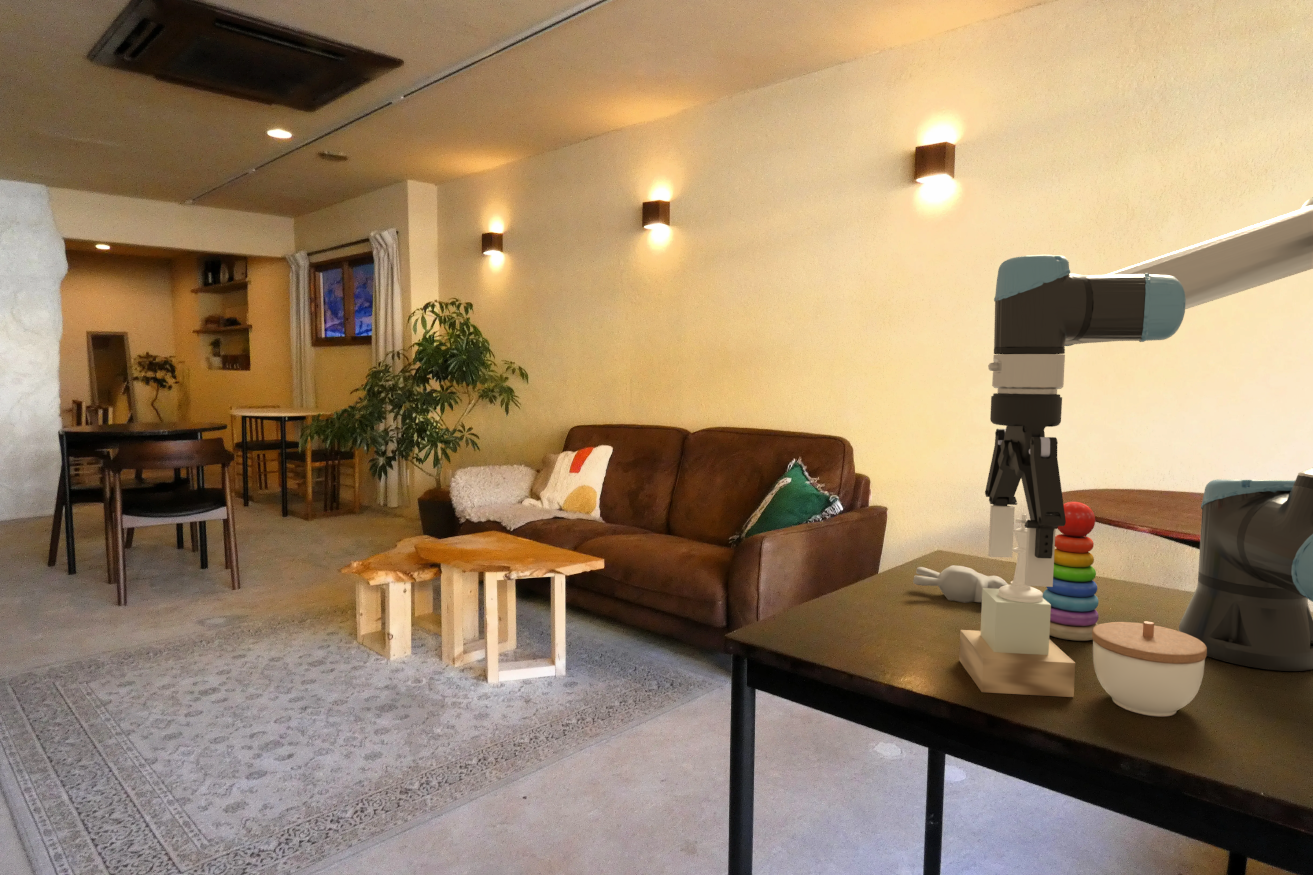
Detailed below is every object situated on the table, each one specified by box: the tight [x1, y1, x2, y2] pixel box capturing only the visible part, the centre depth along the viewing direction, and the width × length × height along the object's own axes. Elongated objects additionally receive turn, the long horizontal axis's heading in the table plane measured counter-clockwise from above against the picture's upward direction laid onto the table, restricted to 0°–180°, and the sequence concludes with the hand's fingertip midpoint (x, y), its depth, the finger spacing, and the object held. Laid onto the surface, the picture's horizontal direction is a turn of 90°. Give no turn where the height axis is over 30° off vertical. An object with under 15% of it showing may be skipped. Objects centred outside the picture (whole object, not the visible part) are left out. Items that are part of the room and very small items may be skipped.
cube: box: [980, 588, 1051, 655], centre depth 94 cm, size 6×6×6 cm
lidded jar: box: [1092, 620, 1207, 718], centre depth 87 cm, size 11×11×9 cm
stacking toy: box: [1042, 501, 1099, 642], centre depth 110 cm, size 8×8×19 cm
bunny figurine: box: [912, 564, 1009, 604], centre depth 127 cm, size 10×5×15 cm
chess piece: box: [998, 513, 1044, 603], centre depth 93 cm, size 5×5×10 cm
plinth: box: [958, 629, 1076, 698], centre depth 94 cm, size 10×10×4 cm
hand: (1018, 570), depth 93 cm, fingers open, 13 cm apart
